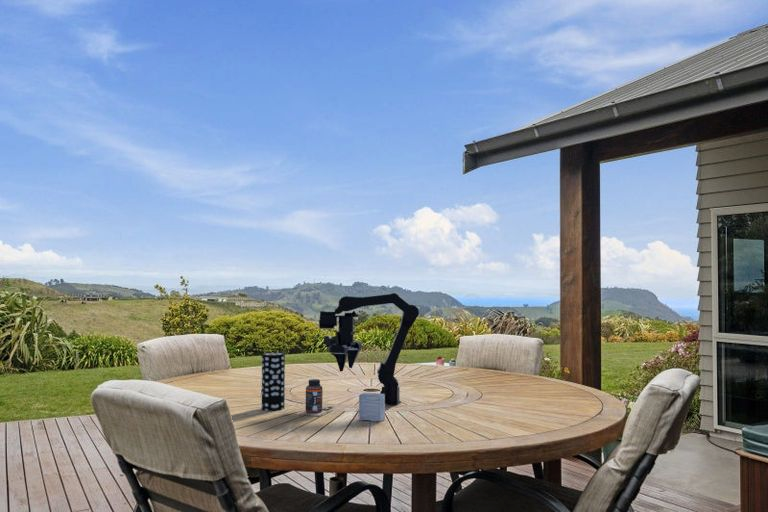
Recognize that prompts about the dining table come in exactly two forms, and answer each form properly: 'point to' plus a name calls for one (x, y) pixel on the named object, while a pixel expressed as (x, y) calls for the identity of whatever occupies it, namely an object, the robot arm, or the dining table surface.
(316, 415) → the coaster
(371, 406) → the medicine box
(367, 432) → the dining table surface
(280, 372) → the spotted tube
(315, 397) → the supplement bottle
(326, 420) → the dining table surface
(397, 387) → the robot arm
